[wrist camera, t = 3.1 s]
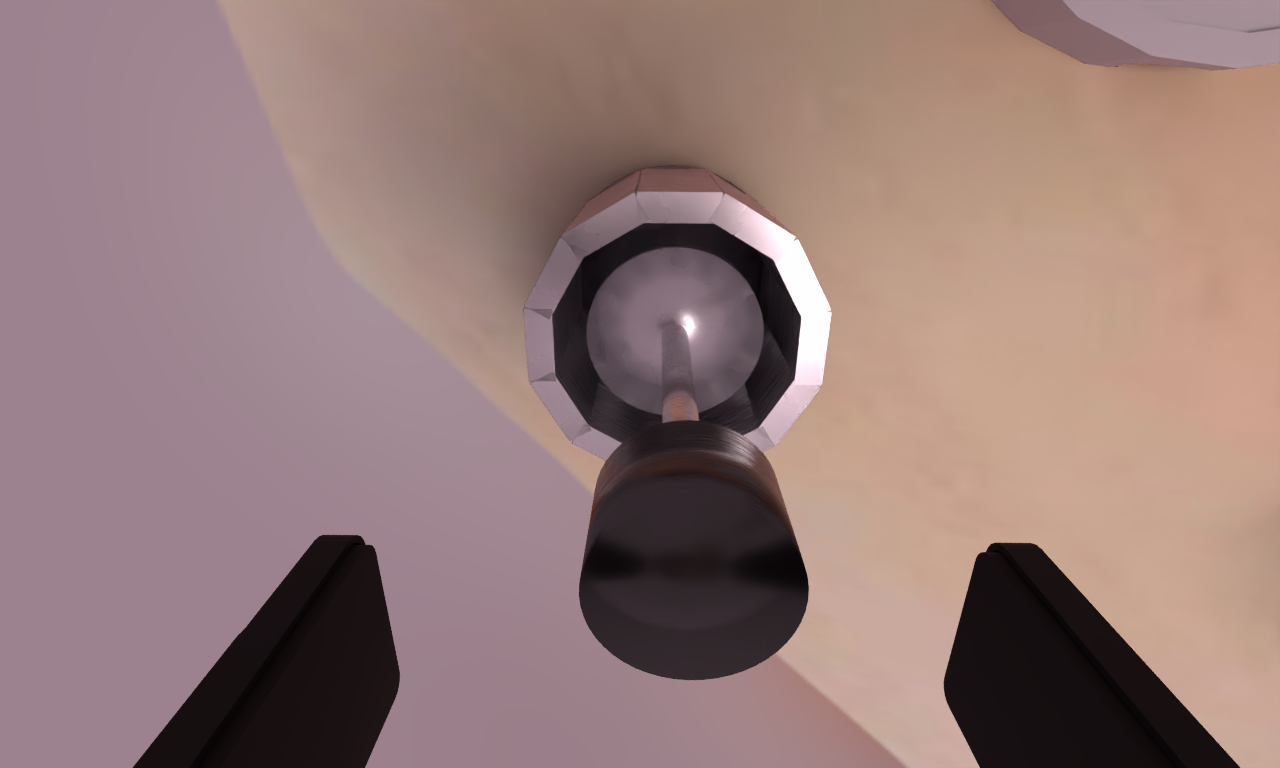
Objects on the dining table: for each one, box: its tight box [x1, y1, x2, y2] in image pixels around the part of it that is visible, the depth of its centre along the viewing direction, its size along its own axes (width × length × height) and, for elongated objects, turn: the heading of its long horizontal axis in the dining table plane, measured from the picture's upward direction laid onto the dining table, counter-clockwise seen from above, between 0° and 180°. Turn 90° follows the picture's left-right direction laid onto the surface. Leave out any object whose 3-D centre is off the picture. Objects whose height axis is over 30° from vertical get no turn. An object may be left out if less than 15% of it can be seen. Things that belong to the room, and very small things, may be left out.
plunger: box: [579, 243, 809, 680], centre depth 16 cm, size 6×6×13 cm
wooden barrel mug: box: [523, 166, 831, 460], centre depth 25 cm, size 13×10×9 cm
